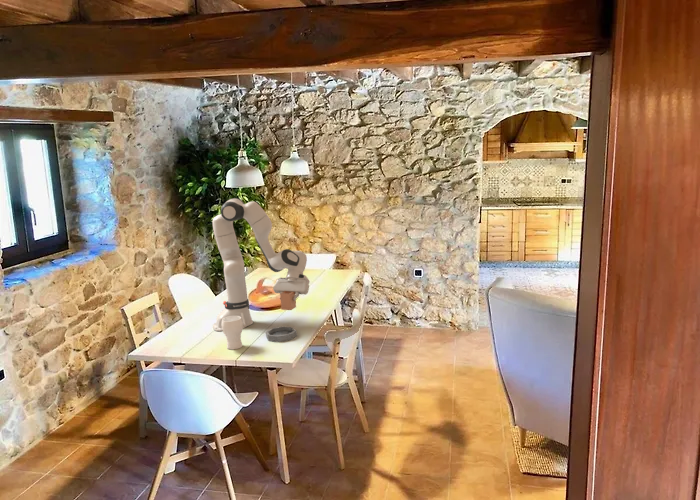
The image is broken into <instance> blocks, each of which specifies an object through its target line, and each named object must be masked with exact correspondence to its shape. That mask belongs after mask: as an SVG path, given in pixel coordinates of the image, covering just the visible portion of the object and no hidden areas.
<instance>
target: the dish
mask: <svg viewBox="0 0 700 500" xmlns="http://www.w3.org/2000/svg"><path fill="white" fill-rule="evenodd" d="M297 333H298V332H297V329H296V328H295V327H294V326H288V325H287V326H286V325H282V326H277V327H272V328H270V329H267V331H265V336H266V339H267V341H268V342H276V343H280V342H281V343H282V342H286V341H291V340H293V339H295V338H296V337H297Z"/></svg>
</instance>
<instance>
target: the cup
mask: <svg viewBox="0 0 700 500" xmlns="http://www.w3.org/2000/svg"><path fill="white" fill-rule="evenodd" d="M221 325H222V330H223V331H222V333H223V334H224V336H225V337H226V341H227V342H226V349H228V350H237V349H238V350H239V349H240V348H242V347H243V342H242V338H241V337H242V332H243V330H244V328H243V322H242V319H241V317H240V316H229V317H225V318H223V319H222V324H221Z"/></svg>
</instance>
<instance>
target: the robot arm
mask: <svg viewBox="0 0 700 500" xmlns="http://www.w3.org/2000/svg"><path fill="white" fill-rule="evenodd" d="M241 219H244V220H245V221H246V222H247V223H248V225H249V226H250V228H251V230H252V231H253V233H254V239H255V241H256V243H257V245H258V247H259V249H260V250H261V253H262V254H263V256H264V258H265V260H266V263H267V266H268V268H269V269H270V270H271V271H272V272H274V273H280V272H281V271H283V270H284V269H287V273H286V277H278V278H277V279H276V281H275V284H274V285H273V288H272V290H273V292H274V293H275V294H280V293H282V292H284V291H288V292H295V296H294V297H292V300H293V301H296V300H297V298H299V296H300V295H307V294H308V293H309V290H310V285H309V284H310V280H309V278H308V277H307V275H305V274H304V272H305V269H306V266H307V261H308V260H307V259H308V258H307V255H306V253H304V252H303V251H301V250H294V251H293V250H291V249H289V248H285V249H283V250H280V251H279V252H275V250H274V249H273V247H272V245H271V243H270V241H269V235H270V233H271V231H272V229H273V222H272V221H271V218H270V217H269V215H268V214H267V212H266V211H265V210H264V209H263V208H262V206H260V204H259V203H258V202H257V201H252V200H251V201H249V202H247V203H245V202H244V201H243V200H242V199H240V198H238V197H233V198H230V199H228V200H227V201H225V202H224V203H223V204H222V206H221V208H220V214H217V215H216V216H214V217H213V219H212V229H213V234H214V238H215V242H216V245H217V248H218V249H217V250H218V252H219V254H220V256H221V260H222V263H223V276H224V282H225V288H226V294H227V295H226V297H227V301H226V300H224V301H223V303H222V304H223V305H224V309H223V310H221V311H220V312H219V313H218V314H217V316H216V322H214V323H213V324H212V329H213V331H216V332H223V330H222V325H221V324H222V319H223V318H225V317H229V316H240V317H241V319H242V322H243V329H245V328H247V327H248V326H251V325H252V324H253V323H254V322H253V318H252V316H251V312H250V301H249V297H248V292H247V291H248V290H247V282H246V276H245V275H246V274H245V261H244V259H243V258H244V257H243V255H242V252H241V249H240V246H239V243H238V239H237V236H236V232H235V228H234V221H237V220H238V221H239V220H241ZM279 299H280V298H279ZM280 301H281V299H280Z"/></svg>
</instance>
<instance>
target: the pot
mask: <svg viewBox="0 0 700 500" xmlns="http://www.w3.org/2000/svg"><path fill="white" fill-rule="evenodd" d="M279 295H280V296H279V299H281V300H280V308H281V309H280V310H283V311H292V310H294V309H296V308H297V303H296V301H293V300H292V297H294V296H295V295H296V294H295V292H288V291H284V292H282V293H279Z"/></svg>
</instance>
